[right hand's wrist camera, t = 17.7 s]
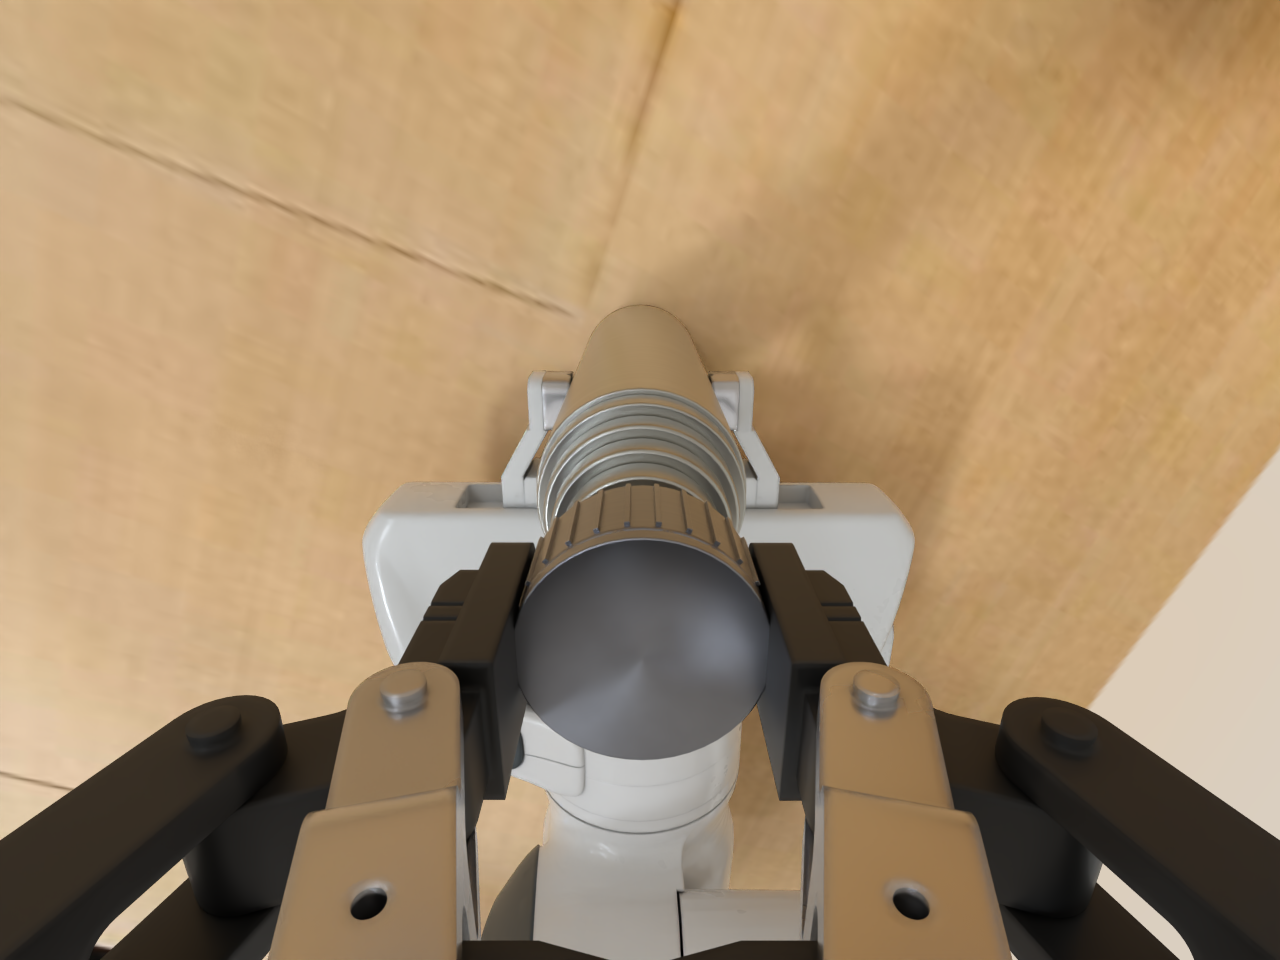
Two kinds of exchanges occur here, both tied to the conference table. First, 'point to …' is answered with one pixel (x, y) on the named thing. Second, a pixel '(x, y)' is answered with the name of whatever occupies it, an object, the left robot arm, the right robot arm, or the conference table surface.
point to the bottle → (640, 421)
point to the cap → (642, 625)
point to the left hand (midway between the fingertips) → (639, 374)
